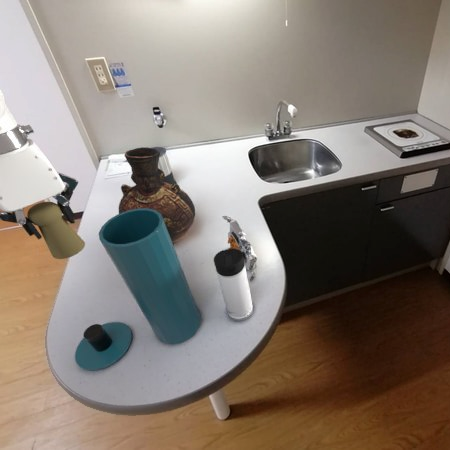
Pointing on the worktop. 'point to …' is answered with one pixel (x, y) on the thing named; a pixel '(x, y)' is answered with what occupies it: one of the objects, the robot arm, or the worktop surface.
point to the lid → (102, 345)
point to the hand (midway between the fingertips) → (54, 227)
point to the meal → (241, 244)
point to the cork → (55, 230)
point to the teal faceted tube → (152, 272)
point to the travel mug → (234, 283)
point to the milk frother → (164, 166)
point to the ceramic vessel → (156, 193)
